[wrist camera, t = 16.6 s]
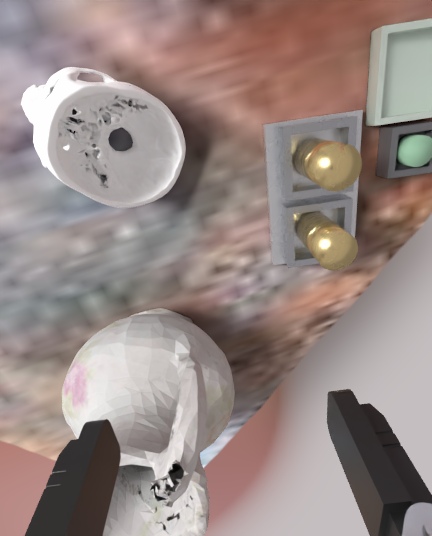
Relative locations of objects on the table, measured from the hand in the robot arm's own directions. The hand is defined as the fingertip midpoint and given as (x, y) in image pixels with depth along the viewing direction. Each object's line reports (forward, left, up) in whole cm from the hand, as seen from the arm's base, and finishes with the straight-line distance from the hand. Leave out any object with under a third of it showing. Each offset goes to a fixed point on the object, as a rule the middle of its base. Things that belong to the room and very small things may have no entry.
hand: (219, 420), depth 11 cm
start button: (-4, +22, -27) cm, 35 cm away
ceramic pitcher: (+17, -9, -28) cm, 34 cm away
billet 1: (-4, +12, -27) cm, 30 cm away
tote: (-11, +22, -28) cm, 37 cm away
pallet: (0, +12, -28) cm, 31 cm away
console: (-4, +22, -28) cm, 36 cm away
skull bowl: (-10, -8, -28) cm, 31 cm away
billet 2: (+3, +12, -27) cm, 30 cm away
